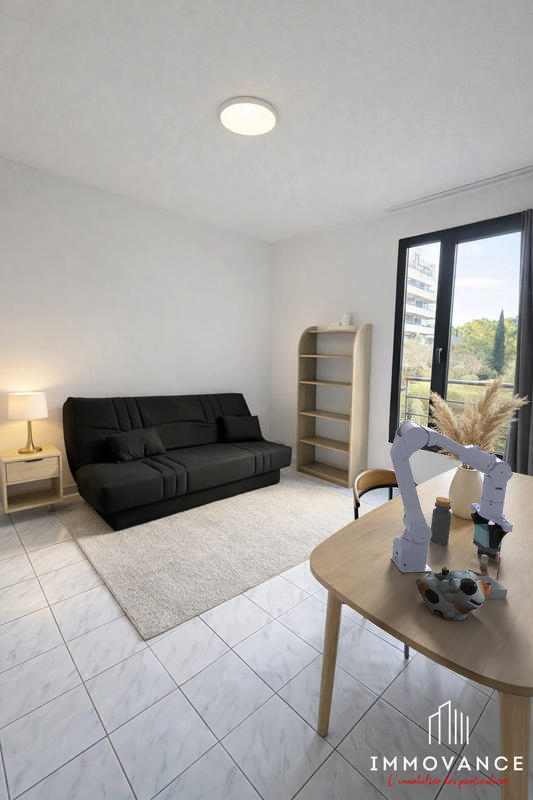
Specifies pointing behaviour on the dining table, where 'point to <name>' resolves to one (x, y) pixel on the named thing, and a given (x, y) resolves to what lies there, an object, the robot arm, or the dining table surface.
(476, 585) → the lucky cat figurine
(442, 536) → the bottle
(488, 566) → the peg board
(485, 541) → the sleeve
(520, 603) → the dining table surface
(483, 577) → the block
